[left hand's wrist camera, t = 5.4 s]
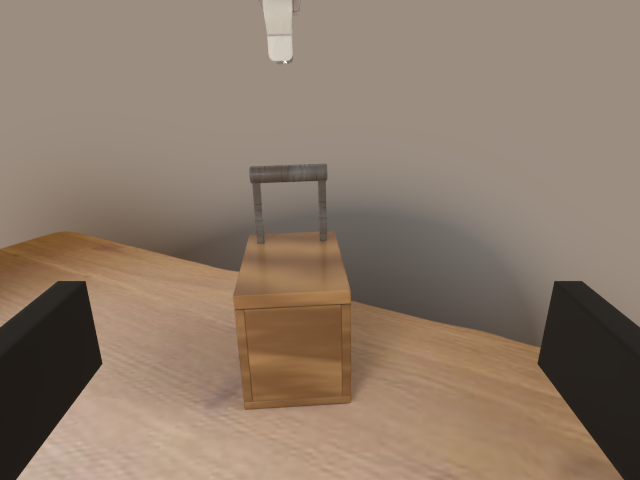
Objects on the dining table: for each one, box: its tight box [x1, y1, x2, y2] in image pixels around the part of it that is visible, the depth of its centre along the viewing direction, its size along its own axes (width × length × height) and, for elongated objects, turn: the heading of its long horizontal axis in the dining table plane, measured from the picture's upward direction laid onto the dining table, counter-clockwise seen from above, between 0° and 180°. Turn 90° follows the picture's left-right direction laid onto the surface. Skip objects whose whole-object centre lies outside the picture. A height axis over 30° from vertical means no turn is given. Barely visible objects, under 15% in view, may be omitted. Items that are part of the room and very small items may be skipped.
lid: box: [233, 164, 351, 309], centre depth 39 cm, size 14×9×9 cm, turn 3°
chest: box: [235, 304, 351, 409], centre depth 42 cm, size 13×9×9 cm
